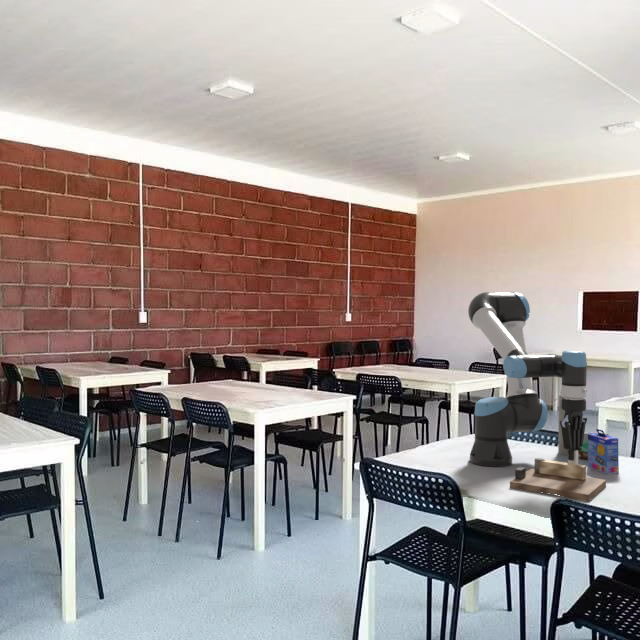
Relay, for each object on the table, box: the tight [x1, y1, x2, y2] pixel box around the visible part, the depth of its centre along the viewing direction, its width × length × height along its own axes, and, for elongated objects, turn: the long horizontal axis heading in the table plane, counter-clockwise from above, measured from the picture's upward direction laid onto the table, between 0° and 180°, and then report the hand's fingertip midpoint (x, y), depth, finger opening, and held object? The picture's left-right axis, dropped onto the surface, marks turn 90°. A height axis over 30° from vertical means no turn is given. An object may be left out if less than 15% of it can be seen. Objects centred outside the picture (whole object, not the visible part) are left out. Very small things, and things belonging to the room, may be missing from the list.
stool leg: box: [533, 457, 587, 480], centre depth 217 cm, size 16×3×4 cm, turn 53°
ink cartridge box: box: [587, 428, 620, 475], centre depth 231 cm, size 10×6×14 cm, turn 16°
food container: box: [578, 432, 610, 462], centre depth 246 cm, size 12×6×10 cm, turn 69°
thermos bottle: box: [557, 389, 568, 456], centre depth 256 cm, size 8×8×28 cm
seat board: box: [509, 466, 607, 502], centre depth 211 cm, size 24×20×5 cm
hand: (573, 469), depth 217 cm, fingers closed
